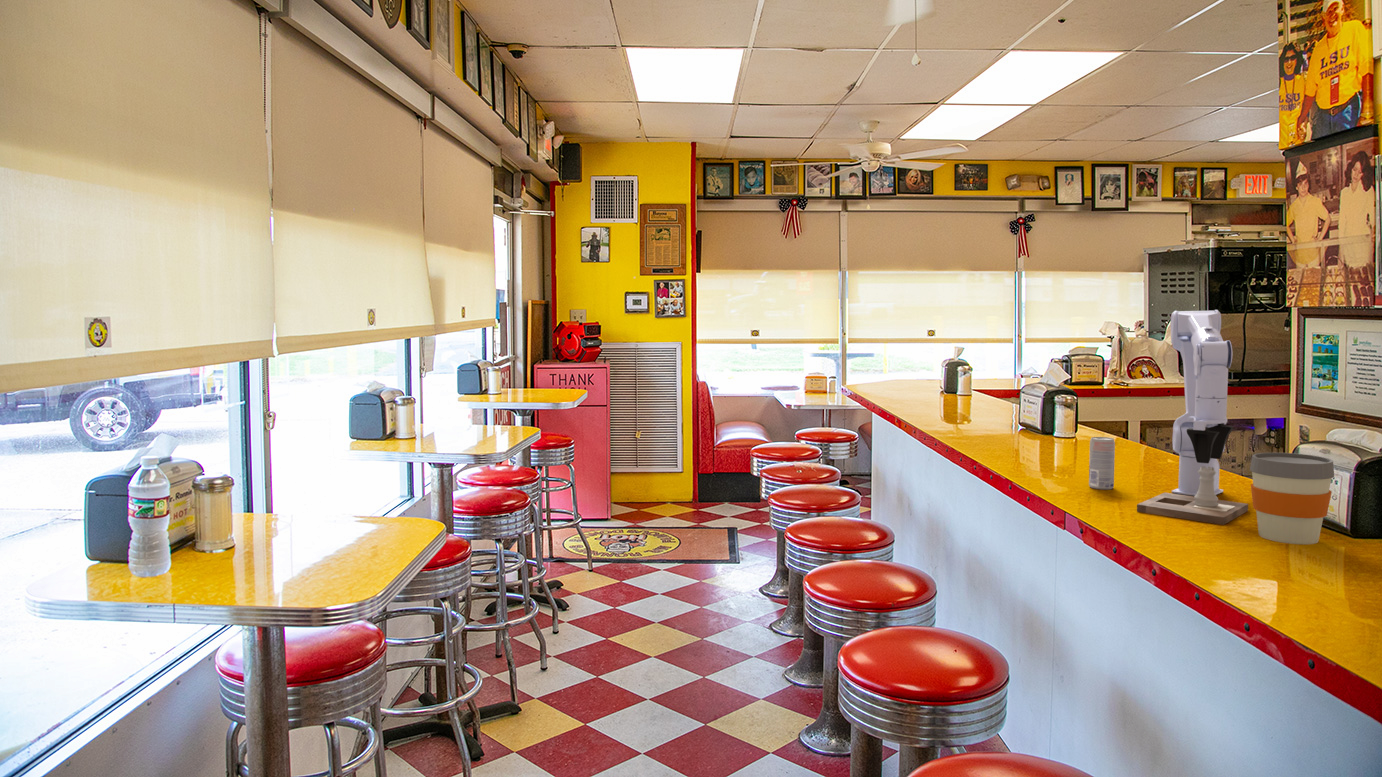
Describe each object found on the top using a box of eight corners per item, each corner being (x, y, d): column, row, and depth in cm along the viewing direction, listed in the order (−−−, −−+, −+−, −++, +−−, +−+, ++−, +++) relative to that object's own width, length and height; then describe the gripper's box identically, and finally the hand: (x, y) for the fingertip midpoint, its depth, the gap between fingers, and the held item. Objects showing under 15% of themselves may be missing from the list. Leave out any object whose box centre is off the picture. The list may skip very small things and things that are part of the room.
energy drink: (1108, 485, 198) (1109, 436, 197) (1117, 489, 193) (1118, 440, 192) (1085, 485, 198) (1086, 436, 197) (1094, 489, 193) (1095, 440, 192)
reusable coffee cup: (1255, 525, 159) (1258, 450, 158) (1336, 536, 150) (1340, 457, 149) (1240, 538, 150) (1243, 458, 149) (1325, 551, 141) (1329, 466, 140)
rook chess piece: (1214, 503, 170) (1215, 465, 170) (1221, 508, 166) (1223, 469, 165) (1190, 502, 172) (1191, 465, 171) (1197, 507, 167) (1198, 469, 167)
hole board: (1164, 499, 182) (1164, 491, 182) (1247, 510, 170) (1248, 502, 170) (1136, 511, 172) (1137, 503, 172) (1223, 524, 160) (1223, 516, 160)
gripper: (1201, 394, 180) (1199, 454, 181) (1178, 398, 170) (1176, 462, 171) (1238, 396, 174) (1236, 458, 175) (1216, 400, 165) (1214, 466, 166)
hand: (1208, 460), depth 173 cm, fingers open, 7 cm apart
